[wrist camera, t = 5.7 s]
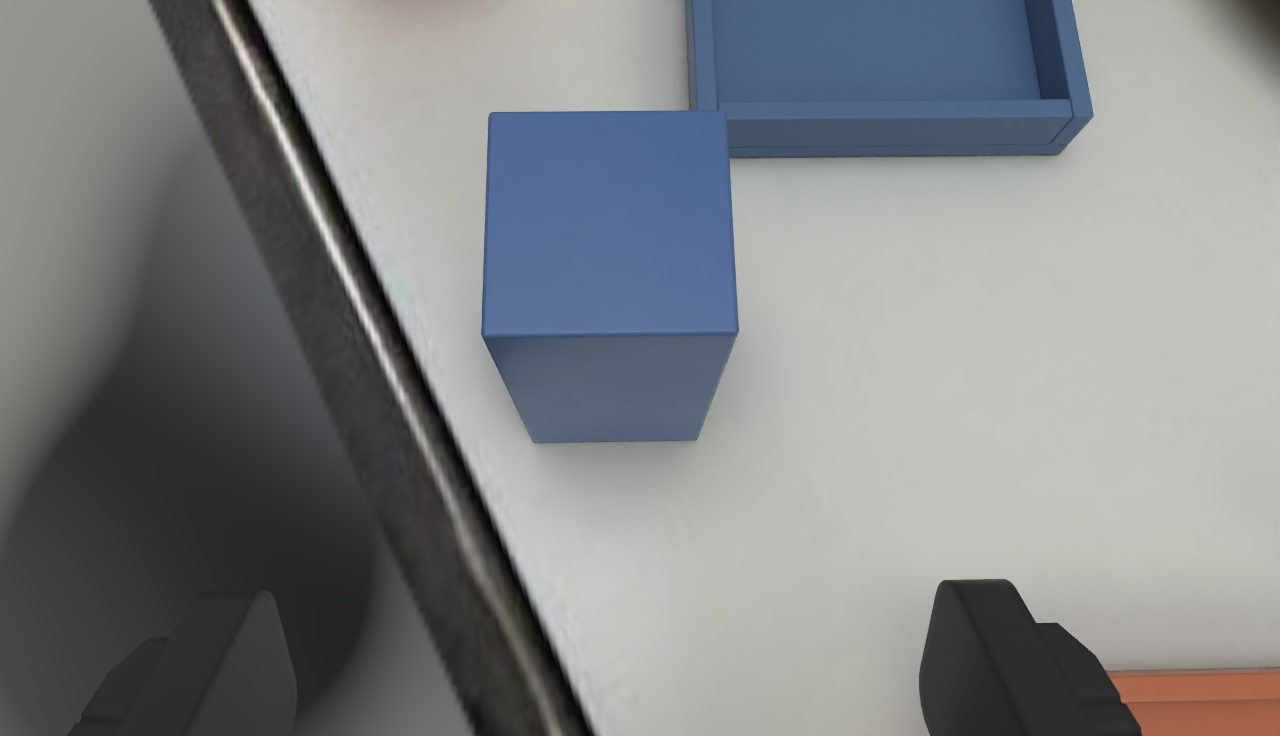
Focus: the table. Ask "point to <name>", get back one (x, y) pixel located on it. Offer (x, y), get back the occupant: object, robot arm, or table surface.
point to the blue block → (609, 270)
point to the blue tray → (889, 76)
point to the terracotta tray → (1202, 701)
